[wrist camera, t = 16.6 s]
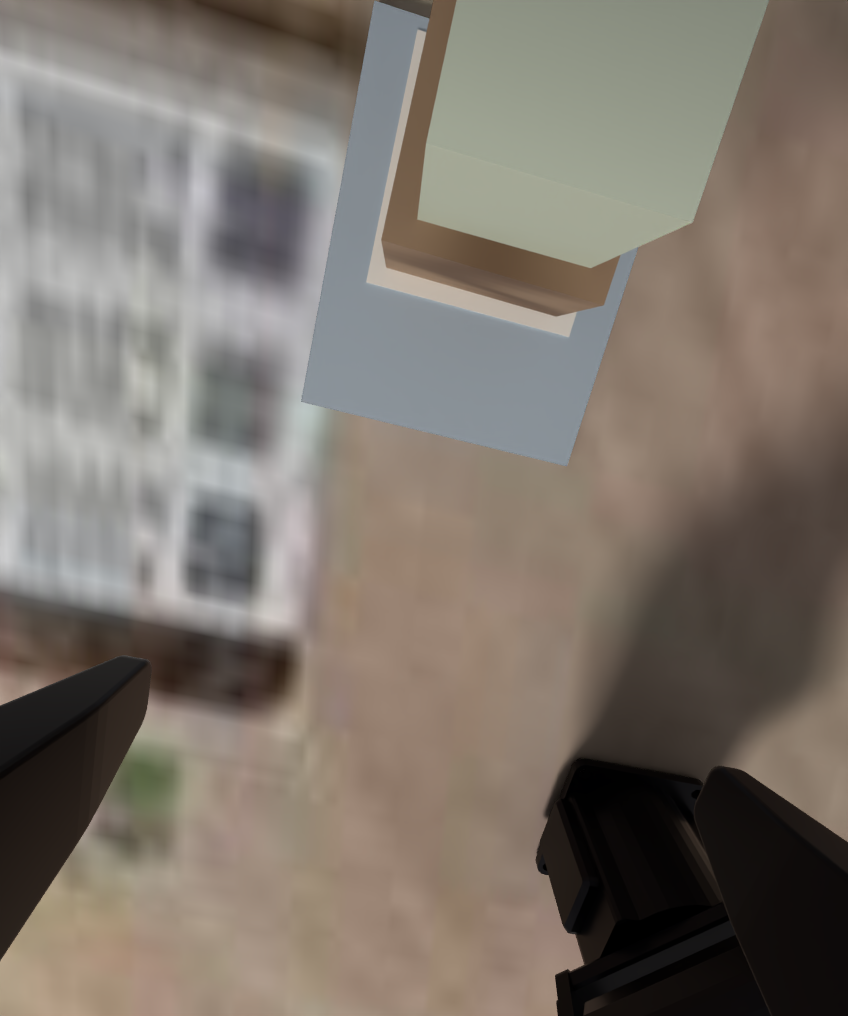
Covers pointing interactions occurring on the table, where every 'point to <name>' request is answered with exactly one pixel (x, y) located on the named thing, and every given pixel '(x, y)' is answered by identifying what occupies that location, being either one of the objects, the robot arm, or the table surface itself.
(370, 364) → the board
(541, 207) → the sage block
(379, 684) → the table surface
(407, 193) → the walnut block
